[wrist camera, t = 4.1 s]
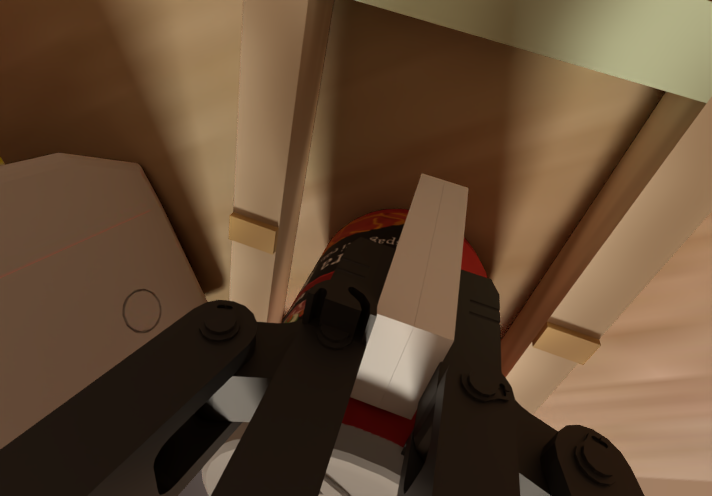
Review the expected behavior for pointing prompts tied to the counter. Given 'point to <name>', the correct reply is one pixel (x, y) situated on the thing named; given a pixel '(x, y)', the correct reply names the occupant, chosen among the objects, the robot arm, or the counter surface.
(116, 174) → the electrical switch box
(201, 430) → the robot arm
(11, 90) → the counter surface
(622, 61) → the slot frame
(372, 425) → the canned food
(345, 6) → the counter surface
